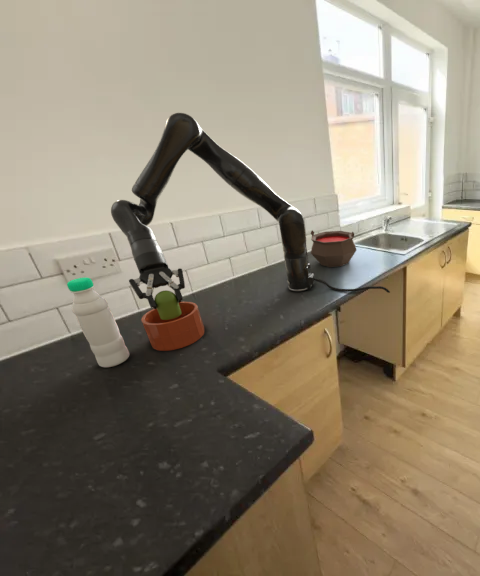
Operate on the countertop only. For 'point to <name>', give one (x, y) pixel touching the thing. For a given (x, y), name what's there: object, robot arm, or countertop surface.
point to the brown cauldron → (333, 247)
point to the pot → (174, 328)
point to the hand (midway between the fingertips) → (168, 304)
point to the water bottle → (97, 323)
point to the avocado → (167, 305)
